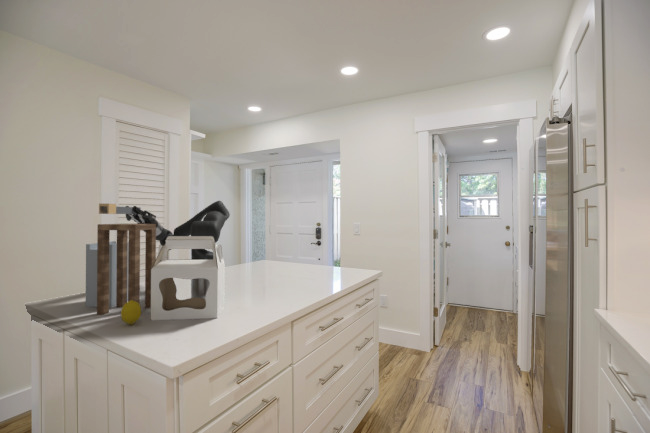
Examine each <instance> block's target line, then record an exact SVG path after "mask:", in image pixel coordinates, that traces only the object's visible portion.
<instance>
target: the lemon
mask: <svg viewBox="0 0 650 433" xmlns="http://www.w3.org/2000/svg"><path fill="white" fill-rule="evenodd" d="M141 315H142V308H141V304H140V305H139V303H138V302H136V301H133V300H130V301H129V302H128V301H127V303H126V304H124V306H123V307H121V311H120V317H121V320H122V321H123V322H124V323H126V324H128V325H130V326H132V325H133V324H134V323H136V322H137V321H139V319H140V318H141Z"/></svg>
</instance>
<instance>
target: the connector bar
mask: <svg viewBox="0 0 650 433" xmlns="http://www.w3.org/2000/svg"><path fill="white" fill-rule="evenodd" d="M138 208H139V209H140V210H142V209H141V207H138ZM98 214H101V215H103V214H105V215H126V214H132V215H133V214H136V213H135V212H134V211H133V206H129V207H126V206H117V203H98Z"/></svg>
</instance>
